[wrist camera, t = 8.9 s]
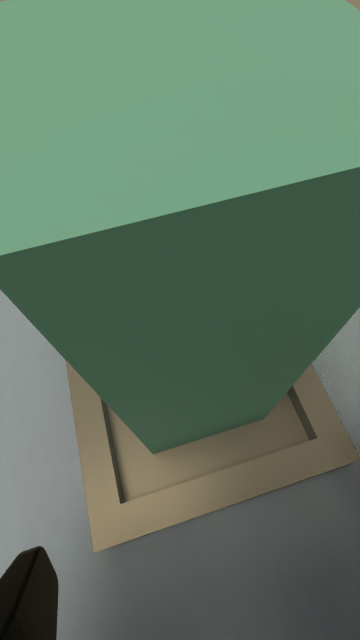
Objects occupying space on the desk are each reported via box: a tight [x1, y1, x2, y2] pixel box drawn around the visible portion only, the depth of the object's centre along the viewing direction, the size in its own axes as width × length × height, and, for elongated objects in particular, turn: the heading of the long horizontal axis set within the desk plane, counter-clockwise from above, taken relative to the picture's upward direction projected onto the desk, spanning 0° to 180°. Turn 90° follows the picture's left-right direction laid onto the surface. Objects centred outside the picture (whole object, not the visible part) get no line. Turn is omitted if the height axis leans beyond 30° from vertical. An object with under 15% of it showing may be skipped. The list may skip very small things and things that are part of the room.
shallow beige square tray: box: [66, 361, 360, 553], centre depth 15 cm, size 10×10×2 cm
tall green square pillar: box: [0, 0, 360, 454], centre depth 10 cm, size 5×5×13 cm
